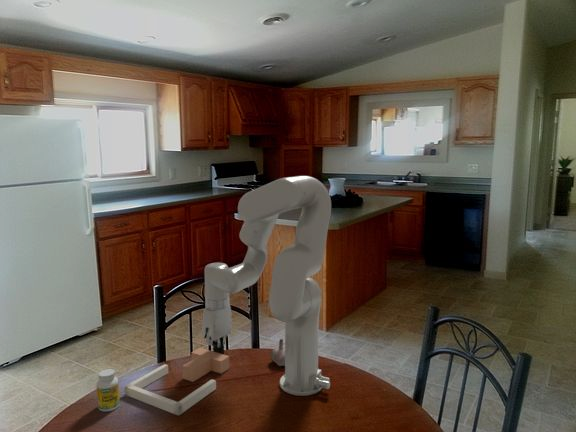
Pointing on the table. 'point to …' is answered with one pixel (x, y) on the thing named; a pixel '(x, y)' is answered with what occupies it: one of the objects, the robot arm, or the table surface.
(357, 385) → the table surface
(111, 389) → the supplement bottle
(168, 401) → the frame
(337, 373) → the table surface
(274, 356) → the garlic bulb
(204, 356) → the t block
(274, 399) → the table surface
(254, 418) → the table surface
